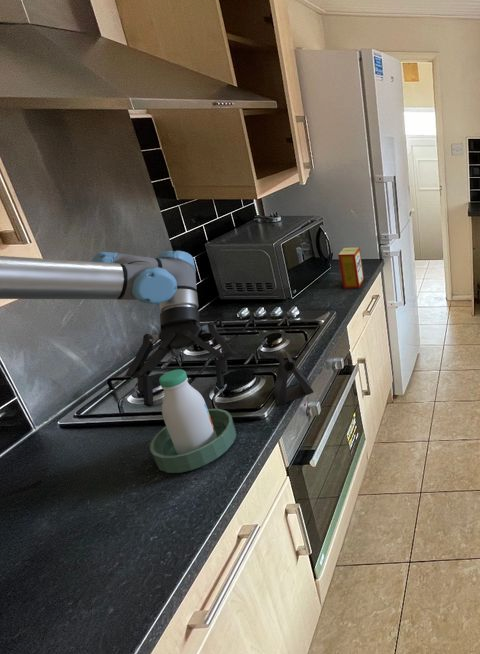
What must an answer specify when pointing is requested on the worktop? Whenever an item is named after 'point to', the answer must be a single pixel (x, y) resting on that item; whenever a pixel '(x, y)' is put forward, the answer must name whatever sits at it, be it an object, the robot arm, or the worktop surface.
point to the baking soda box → (351, 267)
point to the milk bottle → (185, 413)
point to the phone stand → (280, 389)
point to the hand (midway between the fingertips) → (186, 396)
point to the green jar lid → (176, 463)
